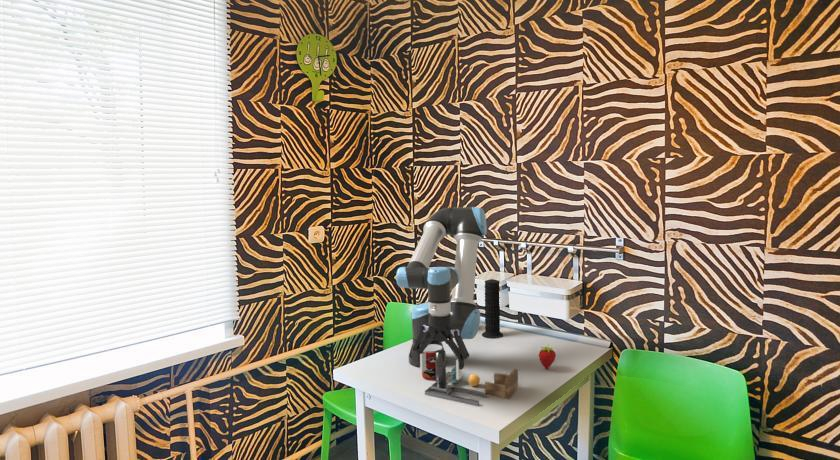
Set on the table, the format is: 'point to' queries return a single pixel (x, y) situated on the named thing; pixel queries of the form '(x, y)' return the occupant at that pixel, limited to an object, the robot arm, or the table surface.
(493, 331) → the handle grip
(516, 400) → the table surface
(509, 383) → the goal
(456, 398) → the rail
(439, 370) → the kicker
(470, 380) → the ball
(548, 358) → the strawberry
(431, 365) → the canned food
